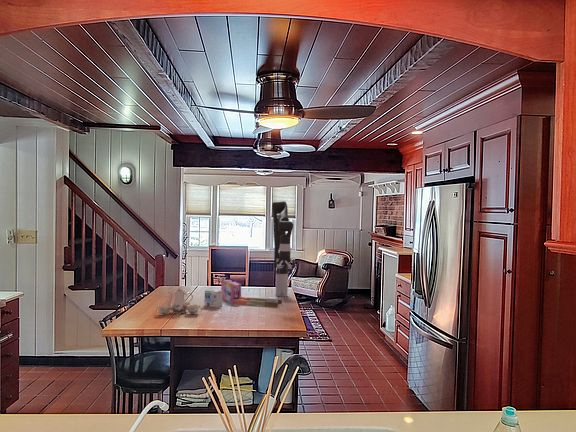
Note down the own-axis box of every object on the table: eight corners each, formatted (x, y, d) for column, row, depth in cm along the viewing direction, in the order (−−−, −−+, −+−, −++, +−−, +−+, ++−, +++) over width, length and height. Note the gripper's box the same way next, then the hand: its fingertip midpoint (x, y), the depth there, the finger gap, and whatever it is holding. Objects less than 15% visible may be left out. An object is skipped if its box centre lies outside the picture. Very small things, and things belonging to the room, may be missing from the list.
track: (241, 302, 327) (241, 296, 327) (282, 305, 319) (283, 299, 319) (234, 305, 313) (234, 300, 313) (277, 309, 305) (277, 303, 305)
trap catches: (240, 301, 325) (240, 296, 325) (251, 301, 323) (251, 297, 323) (234, 304, 315) (234, 299, 314) (246, 304, 312) (246, 300, 312)
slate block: (269, 303, 317) (269, 296, 317) (277, 304, 316) (278, 297, 315) (267, 305, 311) (267, 298, 311) (275, 306, 310) (275, 298, 310)
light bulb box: (204, 305, 312) (204, 290, 312) (210, 304, 318) (210, 288, 318) (216, 307, 307) (217, 291, 307) (222, 305, 313) (222, 290, 313)
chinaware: (155, 320, 277) (156, 293, 275) (155, 311, 293) (156, 285, 291) (202, 317, 285) (203, 291, 283) (200, 309, 301) (200, 284, 299)
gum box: (242, 302, 326) (242, 283, 326) (231, 303, 322) (231, 284, 322) (230, 296, 347) (230, 278, 347) (220, 297, 344) (220, 279, 344)
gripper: (296, 250, 313) (296, 274, 313) (276, 249, 317) (276, 273, 317) (293, 251, 306) (293, 275, 306) (273, 250, 310) (272, 274, 310)
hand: (284, 274), depth 311 cm, fingers open, 8 cm apart
